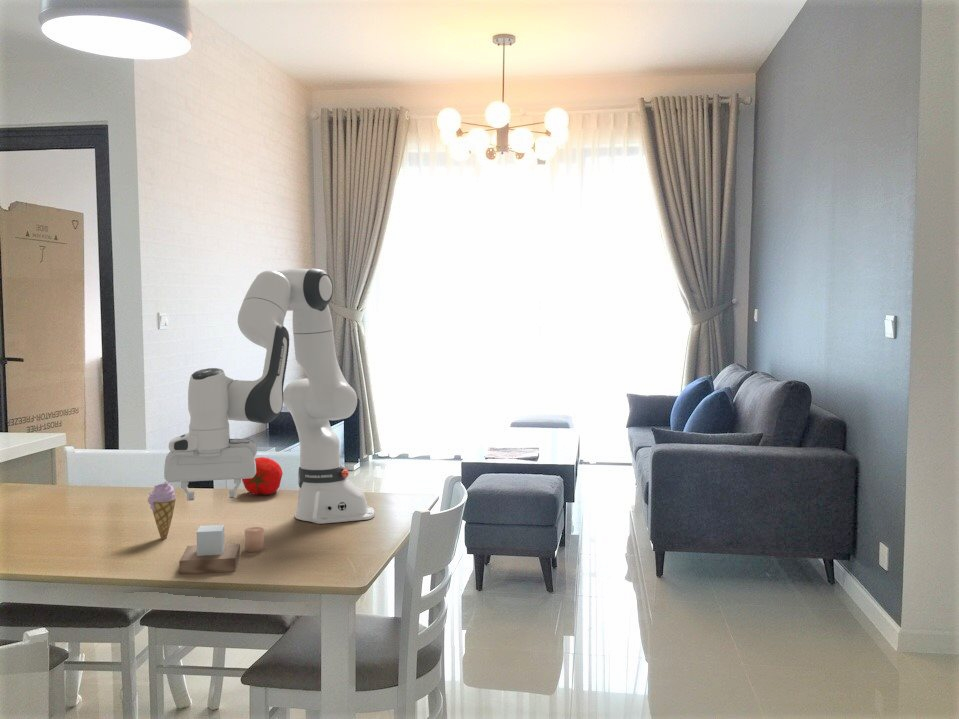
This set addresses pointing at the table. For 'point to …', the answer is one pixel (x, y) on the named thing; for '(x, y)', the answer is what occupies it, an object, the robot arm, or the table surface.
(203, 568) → the walnut plinth
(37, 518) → the table surface
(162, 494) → the ice cream cone
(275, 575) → the table surface
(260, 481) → the tomato
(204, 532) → the white cube
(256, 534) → the peach rounded block
